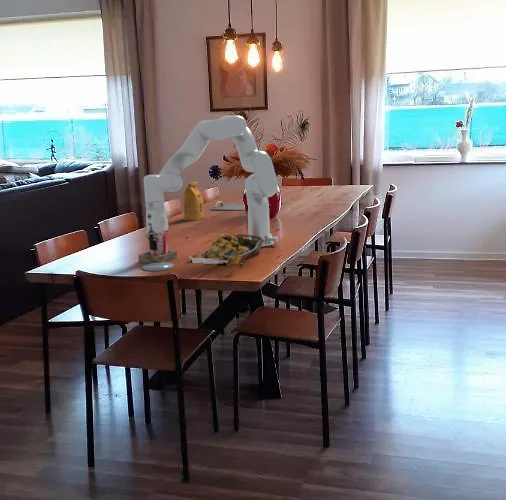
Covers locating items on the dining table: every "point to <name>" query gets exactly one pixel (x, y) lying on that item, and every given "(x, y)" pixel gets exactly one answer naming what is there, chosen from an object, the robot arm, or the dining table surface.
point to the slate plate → (158, 266)
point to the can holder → (157, 257)
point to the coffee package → (193, 203)
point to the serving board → (228, 206)
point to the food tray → (230, 249)
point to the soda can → (160, 244)
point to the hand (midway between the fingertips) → (158, 247)
